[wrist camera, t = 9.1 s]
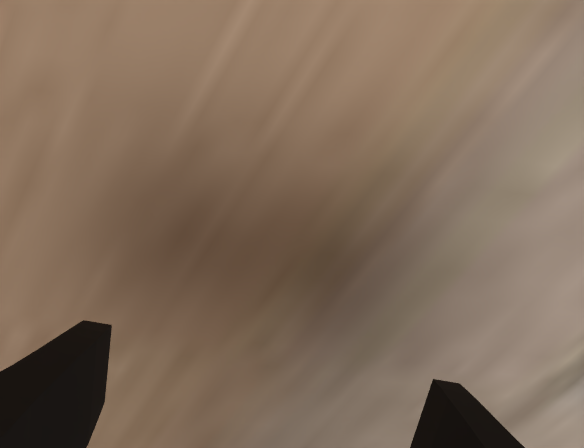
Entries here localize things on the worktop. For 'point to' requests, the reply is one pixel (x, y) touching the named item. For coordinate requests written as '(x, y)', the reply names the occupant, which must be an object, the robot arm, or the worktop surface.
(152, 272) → the worktop surface
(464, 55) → the worktop surface
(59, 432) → the robot arm
